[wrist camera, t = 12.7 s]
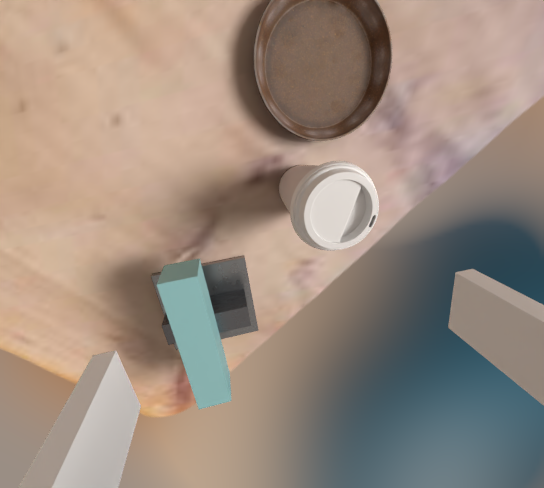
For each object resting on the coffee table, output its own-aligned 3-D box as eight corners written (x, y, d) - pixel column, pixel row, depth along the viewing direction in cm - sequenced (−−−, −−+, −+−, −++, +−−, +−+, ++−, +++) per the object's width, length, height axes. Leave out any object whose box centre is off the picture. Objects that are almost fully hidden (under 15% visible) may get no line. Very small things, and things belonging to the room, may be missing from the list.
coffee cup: (302, 230, 44) (342, 273, 30) (255, 193, 40) (275, 222, 27) (342, 182, 42) (404, 203, 29) (297, 139, 39) (342, 140, 25)
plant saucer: (318, -59, 32) (328, -77, 29) (404, 66, 38) (419, 61, 36) (221, 70, 35) (222, 64, 32) (317, 166, 41) (325, 169, 38)
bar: (200, 380, 43) (198, 409, 38) (164, 265, 35) (156, 284, 31) (229, 373, 44) (231, 400, 39) (199, 258, 36) (197, 276, 31)
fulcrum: (176, 346, 47) (171, 374, 42) (152, 273, 42) (142, 294, 36) (257, 327, 49) (263, 351, 43) (244, 255, 43) (248, 272, 38)
